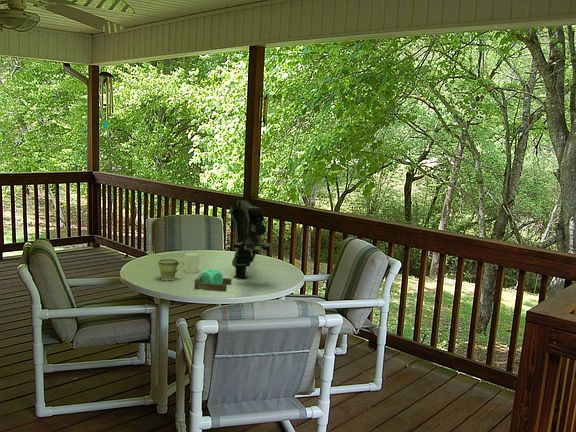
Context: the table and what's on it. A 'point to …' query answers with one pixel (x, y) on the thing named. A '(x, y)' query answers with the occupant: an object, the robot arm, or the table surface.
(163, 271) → the ceramic cup
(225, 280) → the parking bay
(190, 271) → the white cup
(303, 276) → the table surface
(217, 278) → the decorative dice
